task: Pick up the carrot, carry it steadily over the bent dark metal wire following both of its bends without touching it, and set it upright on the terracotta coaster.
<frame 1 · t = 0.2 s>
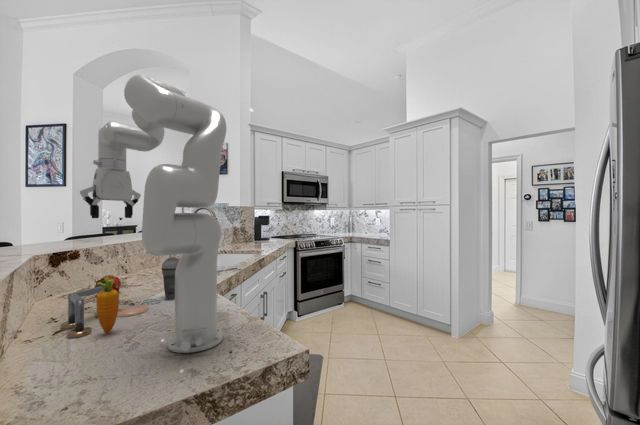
hand: (112, 218, 95), 31 cm above the worktop, tool pointing down, fingers open, 9 cm apart
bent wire: (89, 324, 83), on the worktop
beverage cup: (172, 298, 110), on the worktop
carrot: (107, 334, 76), on the worktop
dragon fruit: (107, 295, 116), on the worktop
terracotta coaster: (130, 311, 94), on the worktop
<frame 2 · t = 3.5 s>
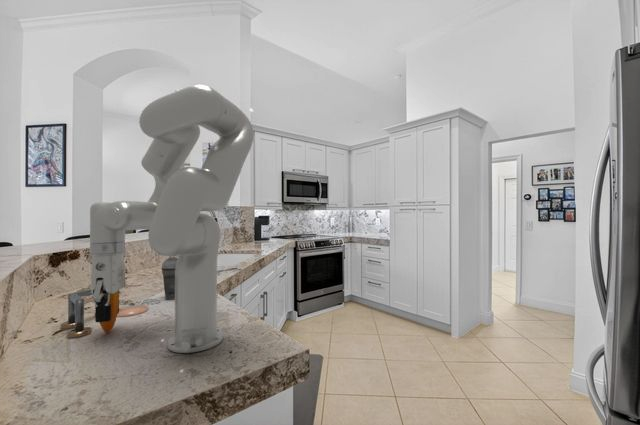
hand: (107, 317, 76), 4 cm above the worktop, tool pointing down, fingers closed on carrot, 4 cm apart
carrot: (107, 334, 76), on the worktop, touching gripper
everything else where it was.
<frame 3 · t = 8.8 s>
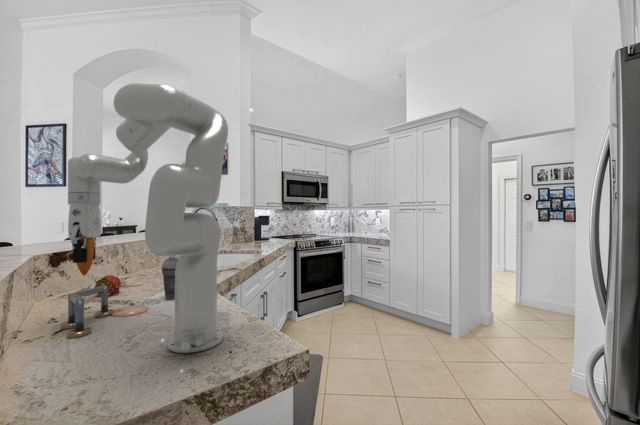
hand: (84, 260, 85), 18 cm above the worktop, tool pointing down, fingers closed on carrot, 4 cm apart
carrot: (84, 276, 85), point 14 cm above the worktop, touching gripper
everything else where it was.
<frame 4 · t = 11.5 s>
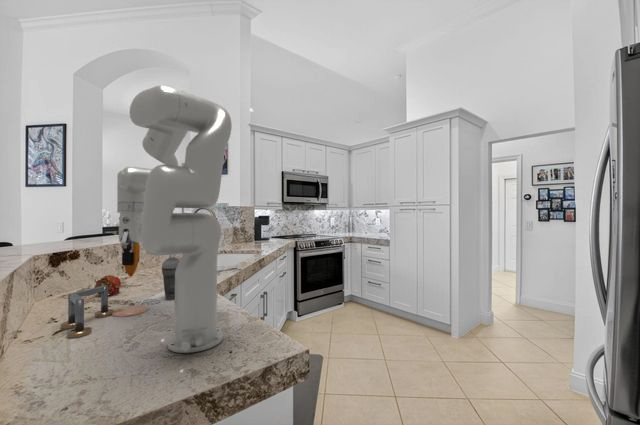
hand: (131, 263, 95), 16 cm above the worktop, tool pointing down, fingers closed on carrot, 4 cm apart
carrot: (130, 277, 95), point 11 cm above the worktop, touching gripper
everything else where it was.
when the fingers open (6 cm above the worktop, at t = 13.9 s): carrot drops 1 cm, resting on terracotta coaster.
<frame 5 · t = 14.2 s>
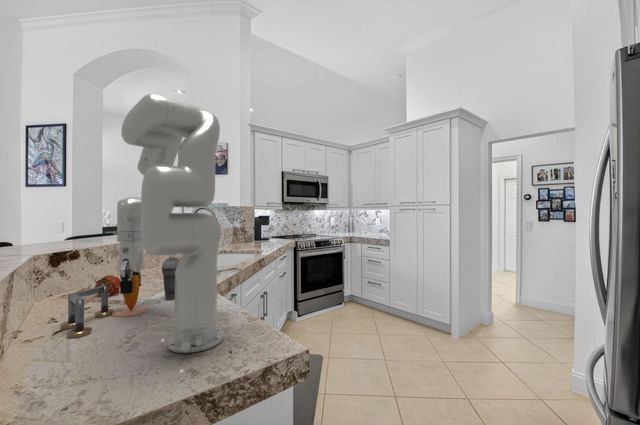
hand: (130, 289, 94), 7 cm above the worktop, tool pointing down, fingers open, 8 cm apart
carrot: (131, 310, 94), resting on terracotta coaster
everything else where it was.
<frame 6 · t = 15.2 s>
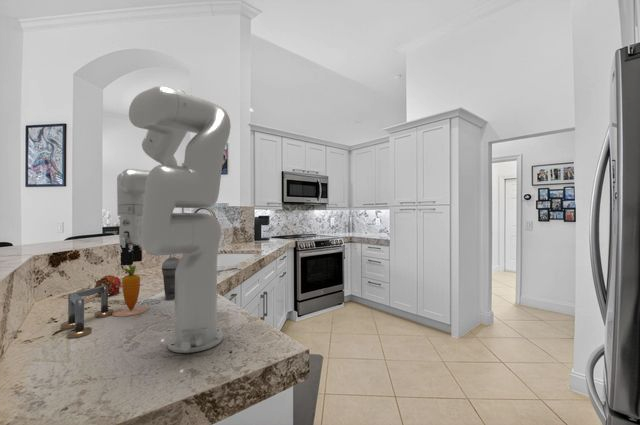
hand: (132, 263, 94), 16 cm above the worktop, tool pointing down, fingers open, 9 cm apart
nothing on the worktop moved.
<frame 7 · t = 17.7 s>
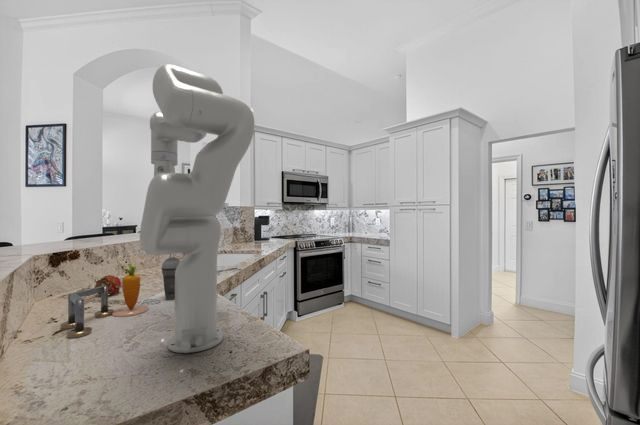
hand: (164, 212, 92), 32 cm above the worktop, tool pointing down, fingers open, 9 cm apart
nothing on the worktop moved.
at the end: carrot 0.1 cm off-centre on the terracotta coaster, point 0.4 cm above the terracotta coaster's base; carrot tilted 1°; carrot touching terracotta coaster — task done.
